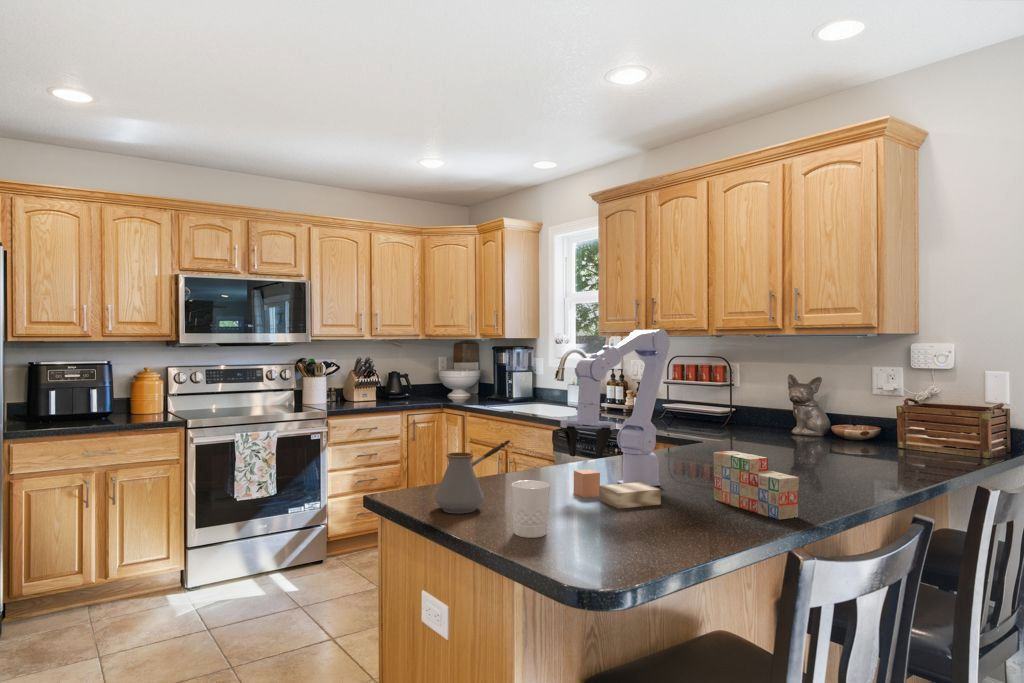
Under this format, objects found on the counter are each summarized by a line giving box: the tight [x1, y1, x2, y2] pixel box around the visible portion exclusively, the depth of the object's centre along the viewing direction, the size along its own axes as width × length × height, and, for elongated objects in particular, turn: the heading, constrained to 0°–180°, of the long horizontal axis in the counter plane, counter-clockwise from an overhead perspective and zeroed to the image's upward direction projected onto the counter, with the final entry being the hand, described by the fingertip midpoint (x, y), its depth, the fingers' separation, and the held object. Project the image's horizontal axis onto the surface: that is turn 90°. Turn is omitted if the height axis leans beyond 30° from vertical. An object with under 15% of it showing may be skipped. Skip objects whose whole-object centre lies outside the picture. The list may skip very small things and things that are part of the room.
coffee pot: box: [434, 439, 514, 514], centre depth 153 cm, size 21×12×15 cm, turn 130°
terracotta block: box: [573, 468, 601, 498], centre depth 166 cm, size 5×5×6 cm
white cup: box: [510, 479, 551, 539], centre depth 131 cm, size 8×8×10 cm
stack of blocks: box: [713, 450, 800, 520], centre depth 154 cm, size 21×6×12 cm, turn 23°
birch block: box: [598, 482, 662, 509], centre depth 159 cm, size 12×9×4 cm
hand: (585, 456), depth 167 cm, fingers open, 7 cm apart
